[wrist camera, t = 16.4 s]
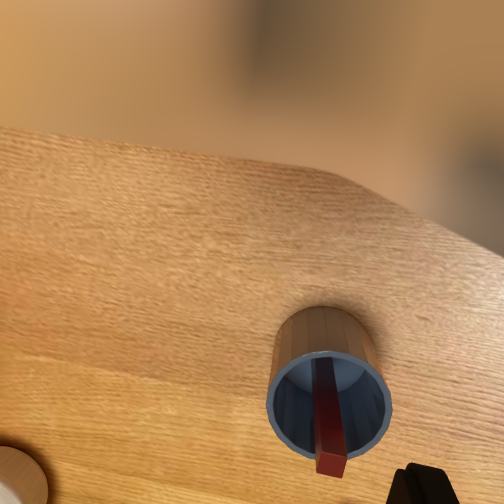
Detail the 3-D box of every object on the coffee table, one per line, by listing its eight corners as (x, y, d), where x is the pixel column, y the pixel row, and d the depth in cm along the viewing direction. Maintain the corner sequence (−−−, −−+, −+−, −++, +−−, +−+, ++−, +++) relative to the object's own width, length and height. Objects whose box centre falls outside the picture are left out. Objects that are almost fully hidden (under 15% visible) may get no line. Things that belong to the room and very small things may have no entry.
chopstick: (331, 351, 39) (348, 457, 25) (327, 366, 39) (342, 479, 26) (314, 347, 39) (321, 451, 26) (310, 362, 39) (316, 473, 26)
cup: (365, 300, 38) (384, 344, 29) (377, 390, 40) (398, 456, 31) (266, 313, 39) (256, 358, 31) (282, 399, 41) (277, 466, 33)
